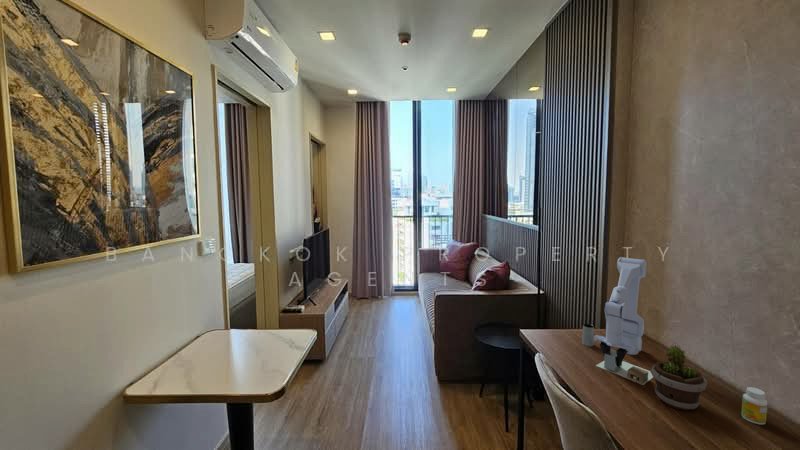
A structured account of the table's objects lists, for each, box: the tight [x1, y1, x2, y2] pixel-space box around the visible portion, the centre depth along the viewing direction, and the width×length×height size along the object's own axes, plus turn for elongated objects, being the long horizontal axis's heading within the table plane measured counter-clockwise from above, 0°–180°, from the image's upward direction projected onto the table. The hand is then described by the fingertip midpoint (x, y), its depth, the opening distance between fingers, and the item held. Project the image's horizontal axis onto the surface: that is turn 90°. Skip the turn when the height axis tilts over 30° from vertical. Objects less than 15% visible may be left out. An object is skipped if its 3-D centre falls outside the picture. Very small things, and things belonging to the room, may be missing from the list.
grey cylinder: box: [581, 323, 595, 347], centre depth 156 cm, size 4×4×10 cm
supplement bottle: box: [741, 386, 768, 425], centre depth 104 cm, size 5×5×10 cm
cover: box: [627, 366, 649, 383], centre depth 126 cm, size 5×5×3 cm
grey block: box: [603, 348, 622, 371], centre depth 134 cm, size 6×4×6 cm, turn 123°
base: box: [595, 360, 654, 386], centre depth 133 cm, size 13×17×3 cm
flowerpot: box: [650, 342, 708, 411], centre depth 113 cm, size 14×15×20 cm
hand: (613, 363), depth 134 cm, fingers closed on grey block, 4 cm apart
